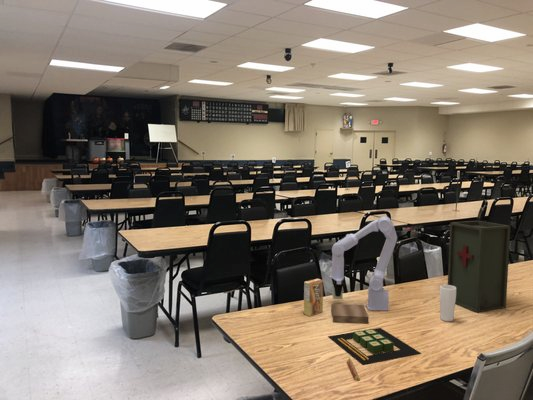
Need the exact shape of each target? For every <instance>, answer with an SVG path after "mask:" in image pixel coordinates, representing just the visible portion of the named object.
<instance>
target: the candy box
mask: <svg viewBox="0 0 533 400" xmlns="http://www.w3.org/2000/svg"><path fill="white" fill-rule="evenodd" d="M303 284H304V285H303V291H304V292H303V314H304V315H305V314H306V316H308V317H311V316H314V315H318V314H321V313H323V312H324V310H323V309H324V308H323V307H324V280H323V279H320V278H315V279H309V280H306V281H304V283H303Z"/></svg>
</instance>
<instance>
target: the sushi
mask: <svg viewBox="0 0 533 400" xmlns="http://www.w3.org/2000/svg"><path fill="white" fill-rule="evenodd" d="M327 338H328V339H330V340H331V341H332V342H333V343H335V344H336V345H337V346H339V347H340V348H341V349H342V350H343V351H344V352H345V353H347V354H348V355H350V356H351V357H352V358H353V359H354V360H356V361H357V362H358V363H359V364H361V366H365V365H370V364H376V363H381V362H386V361H391V360H395V359H396V360H397V359H400V358H401V359H402V358H407V357H412V356H417V355H421V354H422V352H421V351H418V350H417V349H415V347H412V346H411V345H409V344H407V343H406V342H404V341H402V340H401V339H399V338H398V337H396V336H394V335H393V334H391V333H389V332H388V331H386V330H385V329H383V328H382V327H378V328H369V329H364V330H357V331H353V332H346V333H341V334H340V333H339V334H335V335H328V336H327ZM350 340H352V341H354V342H356V343H357V344H359V345H360V346H361V347H362V348H363V349H365V350H367V351H368V352H369V353H371V354H369V355H366V353H365V352H362V351H361V350H360V349H359V348H357V347H356V346H355V345H353V344H352V343H351V342H350ZM394 347H396V348H397V349H395V350H394Z"/></svg>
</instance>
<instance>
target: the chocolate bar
mask: <svg viewBox="0 0 533 400" xmlns="http://www.w3.org/2000/svg"><path fill="white" fill-rule="evenodd" d="M346 365H347V367H348V370H349V372H350V374H351V376H352V378H353V381H360V380H361V378H360V376H359V374H358V372H357V370H356V368H355V365H354V363H353V361H352V359H351V358H350V357H348V359H347V360H346Z"/></svg>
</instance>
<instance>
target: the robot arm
mask: <svg viewBox="0 0 533 400" xmlns="http://www.w3.org/2000/svg"><path fill="white" fill-rule="evenodd" d="M379 231H380V232H381V233H382V234H383V235H384V237H385V238H386V239H385V242H384V245H383V247H382V250H381V252H380V255H379V258H378V261H377V263H376V266H375V268H374V272H373V273H372V274H371V275H370V276H369V283H368V285H369V286H368V288H367V291H368V293H367V303H365V306H366V307H367V310H369V311H389V310H390V309H389V303H390V301H389V299H390V296H389V291H388V289H384V278H385V274H386V271H387V269H388V266H389V263H390V260H391V257H392V255H393V252H394V249H395V246H396V244H397V241H398V235H397V232H396V229H395V226H394V222H393V221H392V219H390V217H389V216H387V215H383V216H380V217H379V218H377V219H374V220H373V221H371V222H369V223H368V224H367V225H365V226H363V228H361V229H360V230H359V231H357V232H356V233H347V234H346V235H345V237H343V238H341V239H339V240H338V241H337V242H335V243H334V244H333V245H332V247H331V254H332V255H331V257H332V258H331V275H329V278H330V279H331V281H332V282H331V283H332V286H334V289H335V295H336V296H340V295H341V291H342V289H343V288H344V285H345V282H343V281H344V279H345V275H344V274H345V270H344V269H345V258H344V254H345V251H348V250H350V249H351V248H353V247H354V246H356V245H358V243H359V240H360V239H362V238H364V237H366V236H367V235H368V234H370V233H372V232H379Z"/></svg>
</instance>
